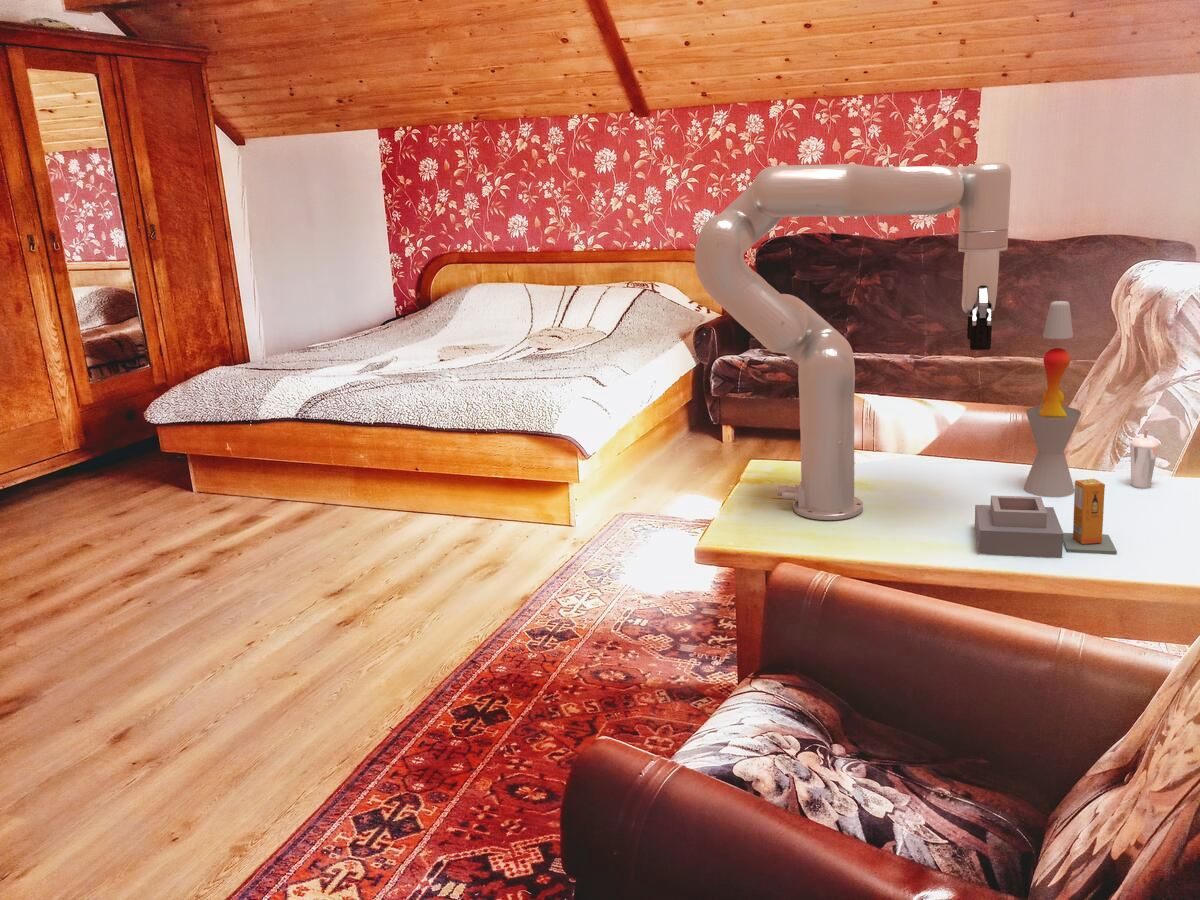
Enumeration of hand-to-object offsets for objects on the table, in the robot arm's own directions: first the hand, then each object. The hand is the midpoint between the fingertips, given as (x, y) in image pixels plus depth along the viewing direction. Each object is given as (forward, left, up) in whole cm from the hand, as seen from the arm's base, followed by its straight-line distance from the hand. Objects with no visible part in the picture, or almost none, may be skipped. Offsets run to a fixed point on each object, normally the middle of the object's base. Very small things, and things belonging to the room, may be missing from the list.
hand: (978, 344), depth 158 cm
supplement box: (+16, -13, -30) cm, 37 cm away
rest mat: (+16, -14, -30) cm, 37 cm away
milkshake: (+30, +17, -30) cm, 46 cm away
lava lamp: (+14, +13, -30) cm, 36 cm away
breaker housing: (+6, -14, -30) cm, 34 cm away
